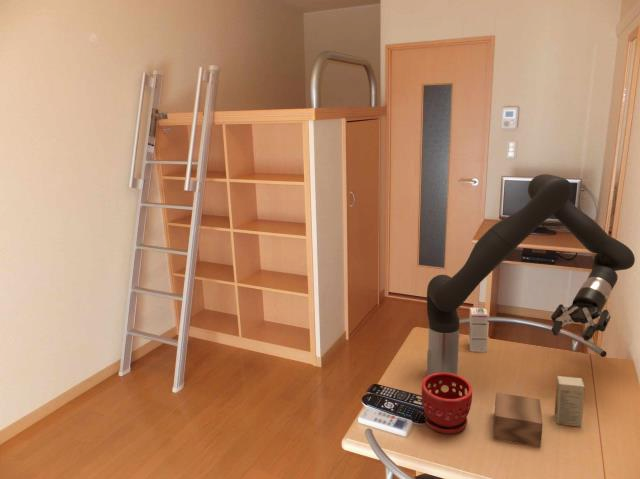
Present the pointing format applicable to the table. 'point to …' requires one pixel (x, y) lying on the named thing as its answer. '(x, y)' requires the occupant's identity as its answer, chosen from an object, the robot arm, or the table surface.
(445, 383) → the plant pot
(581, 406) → the skincare box
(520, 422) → the walnut block
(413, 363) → the table surface
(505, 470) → the table surface
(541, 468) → the table surface
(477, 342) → the syrup box
